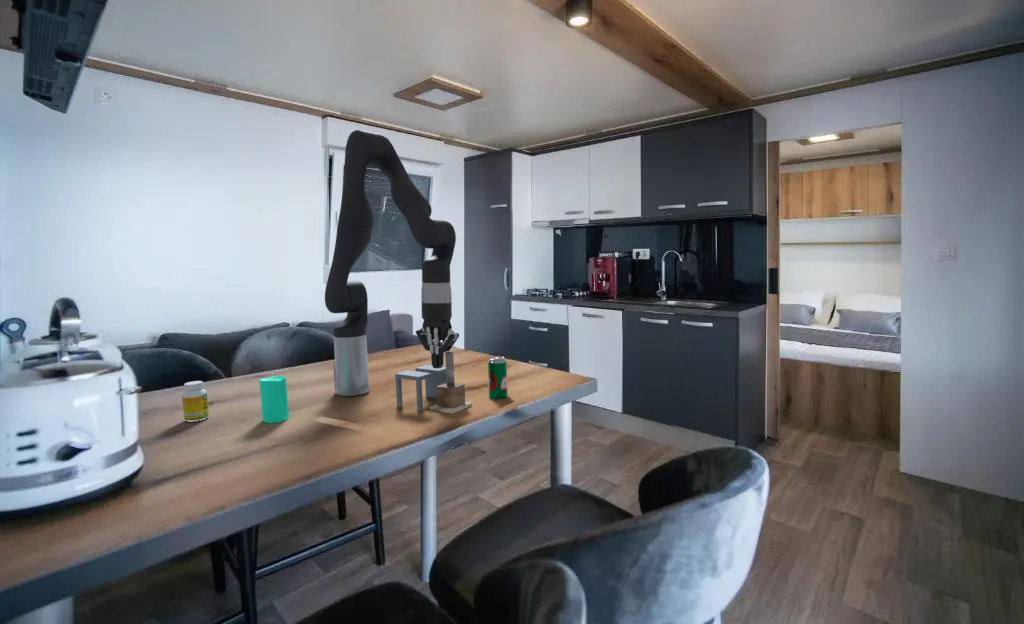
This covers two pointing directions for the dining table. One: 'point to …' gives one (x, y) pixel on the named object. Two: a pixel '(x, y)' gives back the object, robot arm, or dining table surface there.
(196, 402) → the supplement bottle
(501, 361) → the soda can
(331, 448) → the dining table surface
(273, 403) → the candle
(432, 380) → the grey table frame
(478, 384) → the dining table surface
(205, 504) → the dining table surface
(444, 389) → the stepped block tower
